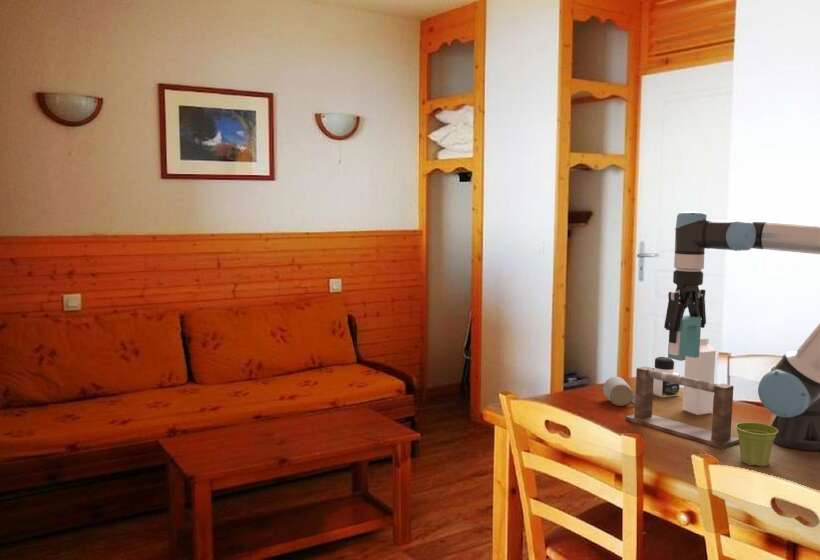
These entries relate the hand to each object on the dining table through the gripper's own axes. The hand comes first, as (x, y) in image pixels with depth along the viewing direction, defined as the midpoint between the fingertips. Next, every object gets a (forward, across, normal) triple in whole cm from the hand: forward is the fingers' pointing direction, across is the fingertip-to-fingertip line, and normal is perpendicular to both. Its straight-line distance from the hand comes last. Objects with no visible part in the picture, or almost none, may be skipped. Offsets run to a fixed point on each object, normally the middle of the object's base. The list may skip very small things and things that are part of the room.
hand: (684, 352), depth 204 cm
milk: (+22, -21, -8) cm, 31 cm away
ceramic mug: (+22, -10, -27) cm, 36 cm away
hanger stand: (+22, 0, 0) cm, 22 cm away
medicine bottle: (+22, -30, -26) cm, 45 cm away
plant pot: (+22, +7, +25) cm, 34 cm away
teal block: (+1, 0, 0) cm, 1 cm away
